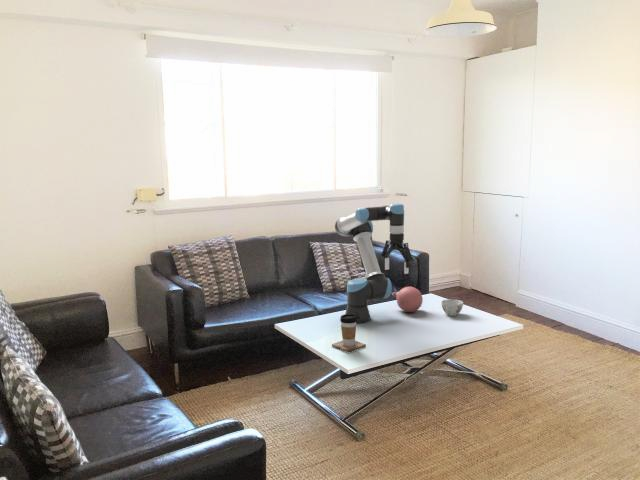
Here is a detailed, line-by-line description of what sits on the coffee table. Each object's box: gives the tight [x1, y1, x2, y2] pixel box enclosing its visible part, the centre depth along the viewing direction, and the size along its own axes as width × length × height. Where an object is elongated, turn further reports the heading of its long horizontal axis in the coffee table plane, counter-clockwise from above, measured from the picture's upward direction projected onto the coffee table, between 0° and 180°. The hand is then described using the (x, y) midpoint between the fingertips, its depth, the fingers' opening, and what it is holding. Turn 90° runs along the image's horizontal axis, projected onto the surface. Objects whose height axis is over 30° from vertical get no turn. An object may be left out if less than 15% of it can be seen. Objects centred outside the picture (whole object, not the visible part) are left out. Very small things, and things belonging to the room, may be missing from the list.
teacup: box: [440, 299, 464, 317], centre depth 315 cm, size 15×12×8 cm
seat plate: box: [331, 340, 366, 353], centre depth 270 cm, size 12×12×1 cm
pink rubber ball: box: [391, 286, 424, 313], centre depth 324 cm, size 15×20×15 cm
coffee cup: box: [339, 313, 357, 346], centre depth 268 cm, size 8×8×15 cm
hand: (396, 271), depth 292 cm, fingers open, 13 cm apart
